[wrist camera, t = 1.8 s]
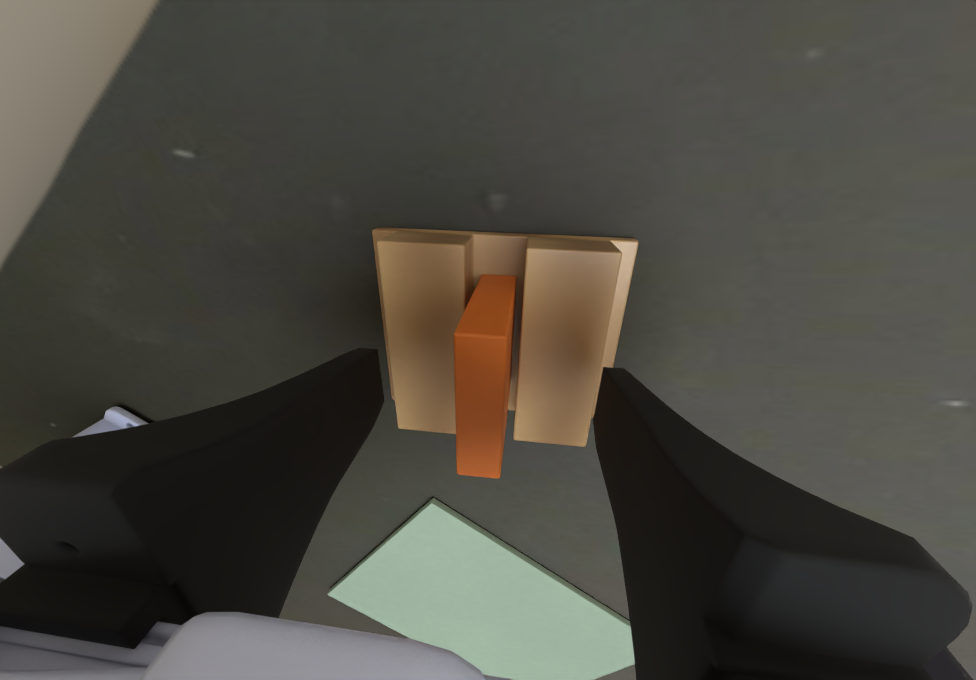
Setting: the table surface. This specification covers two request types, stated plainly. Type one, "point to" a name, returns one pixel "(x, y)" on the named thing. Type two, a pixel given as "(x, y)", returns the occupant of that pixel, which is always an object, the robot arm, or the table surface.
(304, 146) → the table surface
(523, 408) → the holder
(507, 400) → the block
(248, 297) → the table surface
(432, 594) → the mat
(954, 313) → the table surface
